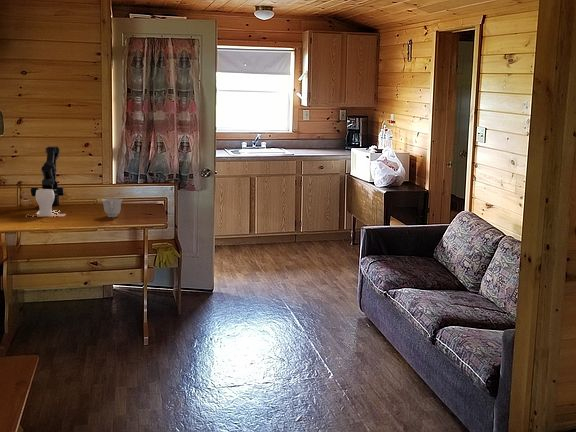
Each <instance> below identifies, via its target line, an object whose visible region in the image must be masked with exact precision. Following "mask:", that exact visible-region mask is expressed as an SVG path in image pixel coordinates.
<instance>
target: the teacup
mask: <svg viewBox="0 0 576 432" xmlns="http://www.w3.org/2000/svg"><path fill="white" fill-rule="evenodd" d="M101 201H102V203H103V211H104V213H105V214H106V215H107V217H108V218H116V217H118V215H119V214H120V212H121V207H122V202H123V198H117V197H116V198H114V197H111V198H103V199H101Z"/></svg>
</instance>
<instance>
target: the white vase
mask: <svg viewBox="0 0 576 432" xmlns="http://www.w3.org/2000/svg"><path fill="white" fill-rule="evenodd" d="M54 198H55V195H54V191H53V190H52V189H43V188H40V189H38V190H36V196H35V199H36V203H37V204H38V208H39V210H38V211H39V216H52V215H53V213H52V210H53V206H52V204H53V202H54Z"/></svg>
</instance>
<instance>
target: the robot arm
mask: <svg viewBox="0 0 576 432" xmlns="http://www.w3.org/2000/svg"><path fill="white" fill-rule="evenodd" d="M45 154H46V161H45V162H44V163H43V165H42V166H41V173H42V177H43V179H41V189H52V190H53V191H54V195H55V198H54V202H53V204H52V207H54V206H55V207H57V206H61V204H60V200H59V199H60V197H64V195H65V189H64V187H62V186H59V183H58V181H57V160H58V159H59V157H60V154H61V148H60V147H58V146H56V145H55V146H47V147H45ZM36 190H39V187H30V193H31V197H36Z"/></svg>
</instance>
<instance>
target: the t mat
mask: <svg viewBox="0 0 576 432" xmlns="http://www.w3.org/2000/svg"><path fill="white" fill-rule="evenodd" d="M52 210H53V211H52V212H54V213H57V215H56V214H54V213H53V215H52V216H39V211H40V210H38V211H37V212H36V213H35V214H37V217H36V218H49V217H52V218H54V217H56V216H58V217H59V218H61V217H65V216H66V215H67V214H66V213H61V211H60V210H59V209H55V210H54V209H52ZM57 210H59V211H58V212H59V213H58V212H55V211H57ZM53 216H54V217H53ZM25 218H28V217H27V215H26V216H25ZM31 218H35V217H34V215H33V216H32V217H31Z"/></svg>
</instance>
